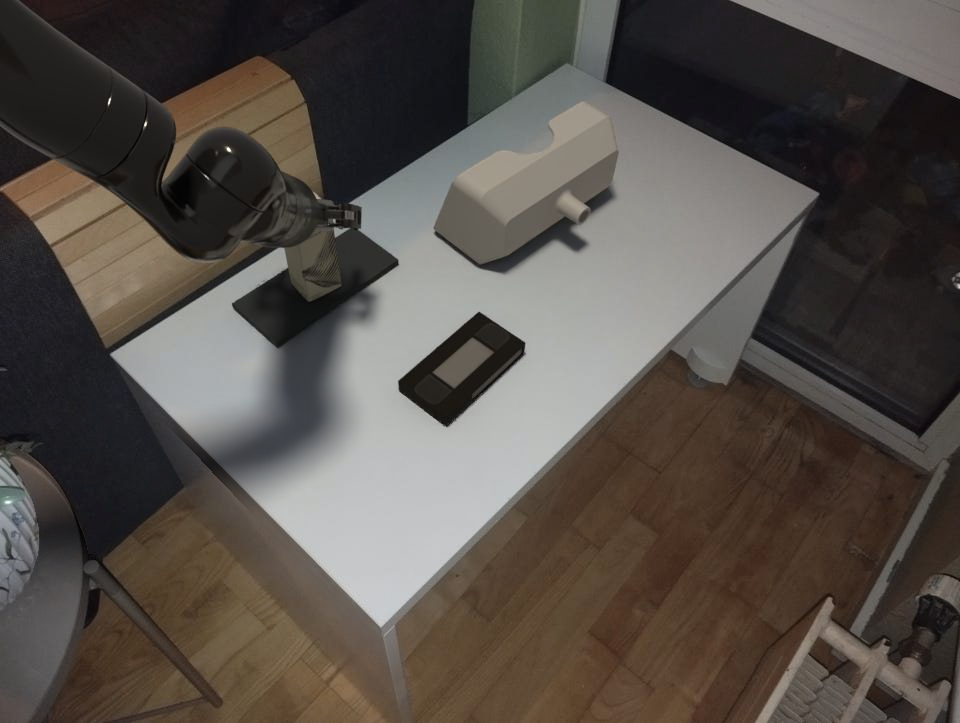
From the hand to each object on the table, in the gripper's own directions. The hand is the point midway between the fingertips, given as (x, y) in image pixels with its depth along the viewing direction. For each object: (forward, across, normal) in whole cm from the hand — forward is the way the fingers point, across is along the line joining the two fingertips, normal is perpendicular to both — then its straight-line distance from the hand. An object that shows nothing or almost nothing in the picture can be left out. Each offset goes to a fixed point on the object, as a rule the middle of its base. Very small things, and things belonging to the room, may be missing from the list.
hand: (308, 217), depth 92 cm
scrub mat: (+7, 0, +8) cm, 11 cm away
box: (+6, 0, +8) cm, 10 cm away
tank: (+17, -28, -2) cm, 33 cm away
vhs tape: (-2, -19, +18) cm, 26 cm away
